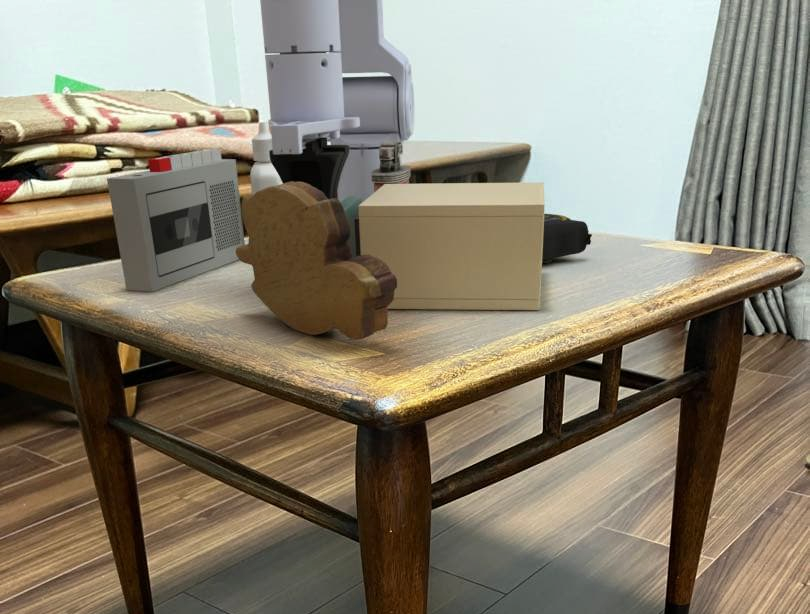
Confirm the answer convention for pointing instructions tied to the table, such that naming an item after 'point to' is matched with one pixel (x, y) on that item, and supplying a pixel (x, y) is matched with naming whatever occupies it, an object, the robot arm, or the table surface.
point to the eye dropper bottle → (263, 161)
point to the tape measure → (563, 237)
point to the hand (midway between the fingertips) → (316, 242)
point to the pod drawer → (353, 222)
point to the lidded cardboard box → (458, 243)
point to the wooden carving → (312, 263)
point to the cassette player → (177, 218)
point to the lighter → (390, 166)
